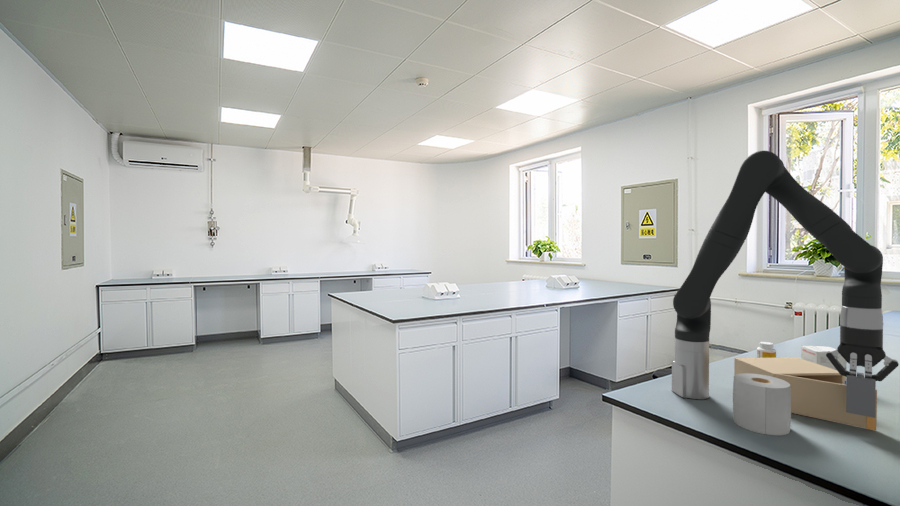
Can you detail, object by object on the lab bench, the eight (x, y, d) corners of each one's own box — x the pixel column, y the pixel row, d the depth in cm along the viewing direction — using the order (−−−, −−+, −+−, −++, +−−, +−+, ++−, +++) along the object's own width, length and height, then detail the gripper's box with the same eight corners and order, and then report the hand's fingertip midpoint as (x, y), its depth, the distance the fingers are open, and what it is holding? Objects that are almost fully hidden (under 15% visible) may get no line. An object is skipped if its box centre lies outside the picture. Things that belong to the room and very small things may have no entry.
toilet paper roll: (745, 412, 116) (745, 370, 115) (799, 428, 105) (799, 382, 105) (723, 422, 109) (724, 378, 109) (779, 440, 99) (779, 392, 99)
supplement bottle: (780, 372, 149) (780, 344, 149) (767, 374, 148) (767, 345, 148) (765, 368, 155) (765, 340, 155) (752, 369, 154) (753, 341, 153)
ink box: (847, 389, 132) (848, 352, 132) (816, 387, 134) (817, 351, 134) (828, 380, 141) (829, 345, 141) (800, 379, 143) (800, 344, 142)
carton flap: (771, 415, 113) (772, 364, 112) (774, 408, 117) (774, 359, 117) (877, 438, 99) (878, 380, 99) (876, 429, 104) (877, 374, 103)
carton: (773, 409, 117) (773, 373, 117) (734, 389, 133) (734, 358, 133) (844, 408, 117) (844, 372, 117) (796, 388, 133) (797, 357, 133)
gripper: (823, 323, 105) (822, 392, 105) (903, 331, 95) (902, 406, 96) (824, 319, 110) (824, 385, 111) (900, 326, 101) (899, 397, 101)
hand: (860, 394), depth 103 cm, fingers closed
